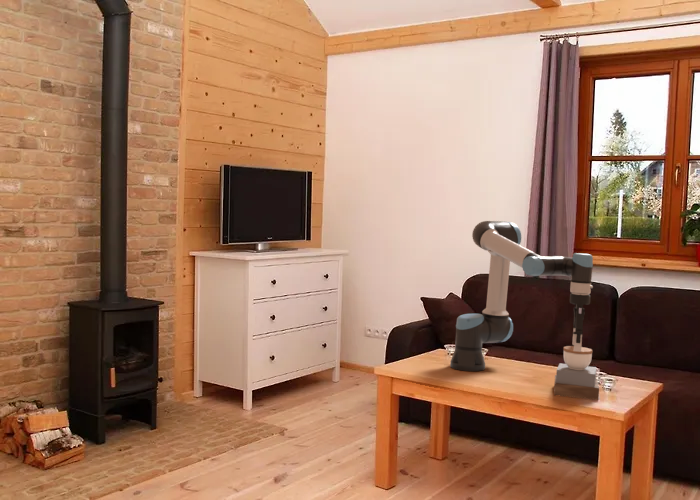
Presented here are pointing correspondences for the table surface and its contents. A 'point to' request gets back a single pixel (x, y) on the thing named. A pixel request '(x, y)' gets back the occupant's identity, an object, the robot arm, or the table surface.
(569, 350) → the lidded jar
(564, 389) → the tower base
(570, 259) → the robot arm
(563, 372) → the grey square slab
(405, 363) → the table surface
